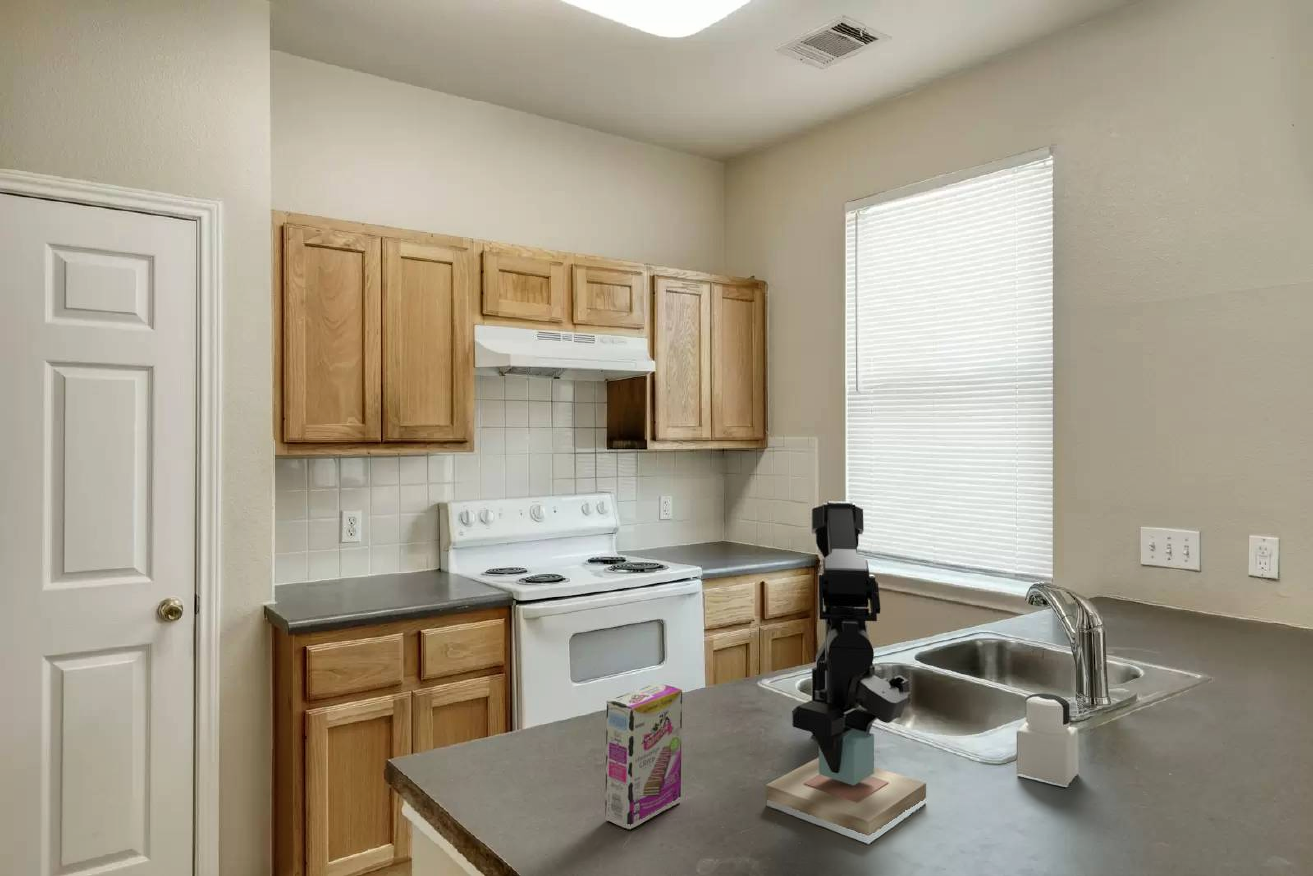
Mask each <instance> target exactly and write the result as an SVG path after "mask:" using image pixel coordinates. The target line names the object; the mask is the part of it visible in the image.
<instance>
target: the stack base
mask: <svg viewBox="0 0 1313 876" xmlns="http://www.w3.org/2000/svg"><path fill="white" fill-rule="evenodd" d="M925 798H926V799H927V782H924V781H921V780H917V779H915V778H911V777H908V776H905V775H902V774H898V773H896V772H891V771H888V770H885V769H882V768H878V767H876V766H874V774H872V775H871V776H869V777H867V778H866V779H864V780H862V781H861V782H859V783H857V784H856V785H851V784H848V783H845V782H842V781H839V780H836V779H833V778H830V777H827V776H824V775H821V774H819V756H818V757H817V758H815V759H813V760H810V761H809V762H807V763H805V764H803V765H802V766H799V767H798V768H796V769H793V770H791V771H790V772H787V773H786V774H783V775H782V776H780V777H778V778H776V779H774V780H773V781H770V782H769V783H766V785H765V800H766V799H767V800H770V801H774V802H777V803H778V804H781V805H783V806H787V807H791V808H792V809H795V810H799V811H800V812H803V813H806V814H808V815H812V816H814V817H816V818H818V819H823V820H826V821H828V822H831V823H833V824H837V825H839V826H842V827H845V828H847V829H851V830H854V831H856V832H858V833H862V834H865V835H868V836H869V835H871V834H872V833H875V832H876V831H877V830H878V829H881V828H882V827H883V826H884V825H886V824H888V823H889V822H890V821H892V820H893V819H895V818H897V817H898V816H899V815H901V814H902V813H903V812H905V810H908V809H910V808H911V807H913V806H915V805H916V804H918V803H919V802H920V801H923V800H924V799H925Z"/></svg>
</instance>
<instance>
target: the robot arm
mask: <svg viewBox="0 0 1313 876" xmlns="http://www.w3.org/2000/svg"><path fill="white" fill-rule="evenodd" d="M864 529H865V528H864V509H863V508H860V507H858V506H856V502H852V501H848V500H847V501H846V500H844V501H840V500H839V501H838V500H833V501H832V500H830V501H829V500H828V501H826V502H823V505H820V506H816V507H813V508H811V534H814V535H815V543H816V547H817V548H818V550H819V552H820V553H821V555H822V556H823V559H822V573H820V572H819V573H817V575H818V576H817V577H818V578H817V583H818V584H817V592H818V593H817V594H818V617H819V620H821V621H822V620H824V642H823V643H822V645H821V647H820V648H819V650H818V652H817V653H816V654H815V666H812V667H811V700H809V701H807V702H804V703H802V704H799V705H797V706H796V707H795V708H794V709H793V710H791V725H792V727H793V728H796V729H800V730H802V731H805V732H808V733H809V732H810V733H812V734H813V736H814V737H813V736H812V737H813V738H814V739H815V742H816V743H817V745H818V748H819V747H820V749H821V751H822V753H823V755H824V757H825V760H826V762H827V764H828V766H829V768H830V770H831V771H832V772H834V773H839V770H840V764H841V754H842V744H843V737H844V736H845V735H847V734H848V733H849V732H850V731H851V730H852V728H853V729H857V730H860V731H864V732H867V733H871V729H872V726H873V724H874V723H875V721H877V720H879V721H880V722H882V723H886V724H889V723H892V722H893V721H894V720H896V719H899V718H901V717H902V715H903V713H904V710H905V706H906V705H908V704H909V703H911V702H912V699H911V697H910V696H911V692H910V687H909V685H910V684H909V680H908V679H907V678H905V677H904V676H902V675H896V676H895V677H893V678H891V679H890V680H888V679H887V678H886V677H884V678H880V677H878V676H877V675H876V667H875V665H874V659H875V658H874V657H875V656H874V655H875V653H874V651H875V650H874V648H873V646H872V645H873V644H872V642H871V639H870V637H869V634H868V627H867V626H868V623H867V622H877V621H878V617H877V616H878V615H879V614H881V600H880V589H879V582H877V581H876V576H875V575H874V574H870V569H869V563H868V560H867V559H865V558H864V557H863V556H861V555H860V554H859V552H858V547H859V535H863V534H864V533H863V532H864ZM869 606H870V608H868V607H869ZM877 614H878V615H877ZM845 726H846V727H845ZM848 727H849V728H848Z"/></svg>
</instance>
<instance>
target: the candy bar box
mask: <svg viewBox="0 0 1313 876" xmlns="http://www.w3.org/2000/svg"><path fill="white" fill-rule="evenodd" d="M682 710H683V689H681V688H679V687H674V686H670V685H666V684H662V683H657V682H656V683H654V684H652V685H649V686H646V687H645V686H644V687H643V688H640V689H637V690H634V691H632V692H629V693H626V694H624V695H620V696H617V697H613V698H612V699H608V700H607V701H606V731H605V733H606V734H605V735H606V736H605V742H606V744H605V749H606V750H605V798H604V799H605V803H604V804H605V807H604V809H605V810H604V812H605V813H604V816H605V815H606V816H609V817H611V818H614V819H617V820H619V821H622V822H624V823H626V824H630V825H631V824H633V823H636V822H637V821H639V820H640V819H643V818H645V817H646V816H648V815H651V814H652V813H654V812H655V811H657V810H659V809H661V808H662V807H664V806H667V804H669V803H671V802H672V801H675V800H676V799H677V798H678V797H681V798H682V795H681V793H682V790H681V789H682V732H683V731H682V730H683V723H682V721H683V719H682V718H683V711H682Z"/></svg>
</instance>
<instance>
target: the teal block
mask: <svg viewBox="0 0 1313 876" xmlns="http://www.w3.org/2000/svg"><path fill="white" fill-rule="evenodd" d="M845 727H846V726H845ZM848 728H849V727H848ZM818 757H819V774H821V775H824V776H827V777H830V778H833V779H836V780H839V781H842V782H845V783H848V784H851V785H856V784H857V783H859V782H861V781H862V780H864V779H866V778H867V777H869V776H871V775H872V774H874V767H875V734H874V733H871V732H869V733H867V732H864V731H860V730H857V729H853V728H852V730H851V731H850V732H849V733H848V734H847V735H845V736H844V737H843V744H842V754H841V764H840V770H839V773H834V772H832V771H831V770H830V768H829V766H828V764H827V762H826V760H825V757H824V755H823V753H822V751H821V749H820V747H819V746H818Z"/></svg>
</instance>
